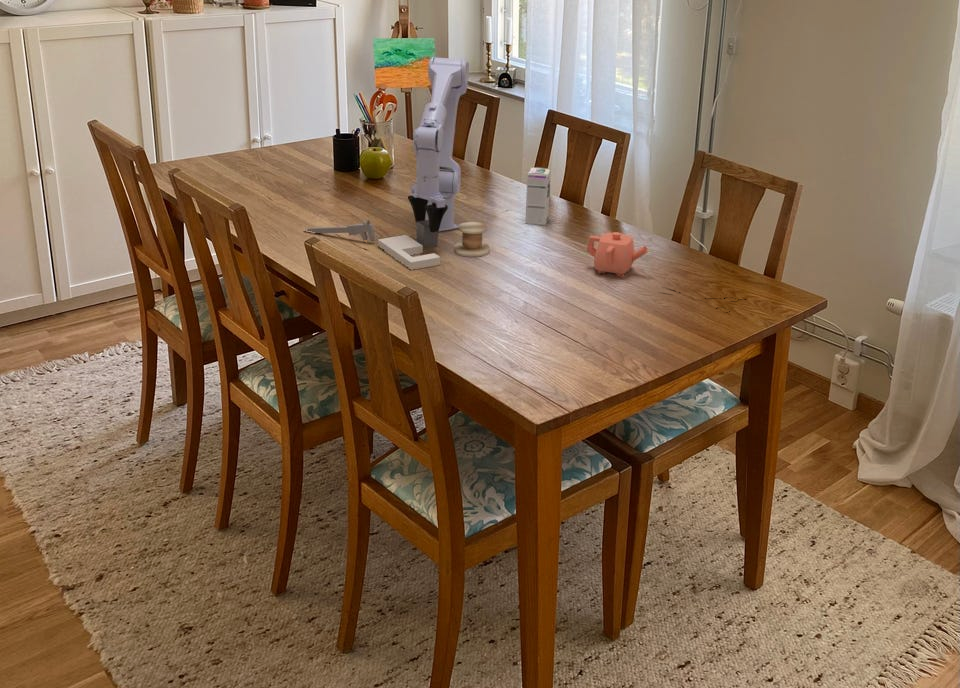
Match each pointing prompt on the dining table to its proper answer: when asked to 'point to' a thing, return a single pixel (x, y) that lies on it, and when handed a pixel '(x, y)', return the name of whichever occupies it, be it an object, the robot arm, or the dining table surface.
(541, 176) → the syrup box
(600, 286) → the dining table surface
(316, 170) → the dining table surface
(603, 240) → the teapot
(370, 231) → the caliper
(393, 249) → the notched board
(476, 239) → the bobbin
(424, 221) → the block
